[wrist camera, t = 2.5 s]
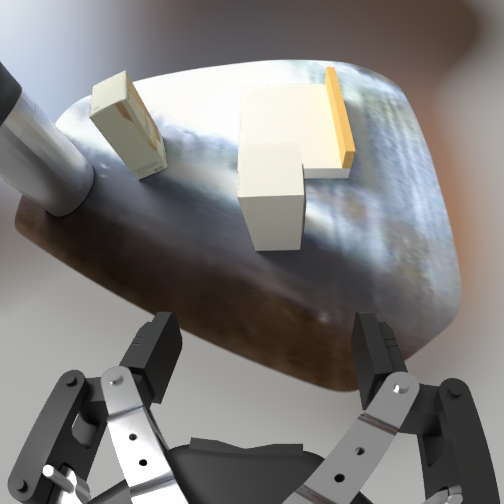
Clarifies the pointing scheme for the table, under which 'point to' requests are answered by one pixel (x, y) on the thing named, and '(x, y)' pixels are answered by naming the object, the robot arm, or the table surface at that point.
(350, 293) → the table surface
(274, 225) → the product carton
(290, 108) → the shelf board
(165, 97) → the table surface
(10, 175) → the robot arm
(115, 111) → the skincare box
